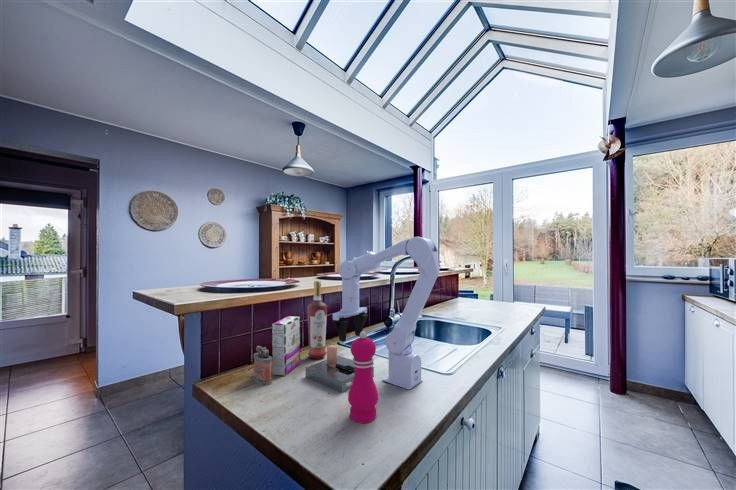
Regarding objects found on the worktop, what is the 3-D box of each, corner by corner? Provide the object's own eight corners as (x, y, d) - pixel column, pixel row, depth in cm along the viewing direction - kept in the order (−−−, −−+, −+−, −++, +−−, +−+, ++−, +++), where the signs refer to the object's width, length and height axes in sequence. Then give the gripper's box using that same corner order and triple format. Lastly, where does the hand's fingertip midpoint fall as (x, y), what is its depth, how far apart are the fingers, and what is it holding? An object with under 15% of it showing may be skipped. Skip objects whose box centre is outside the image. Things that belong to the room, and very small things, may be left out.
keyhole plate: (373, 376, 93) (373, 366, 93) (342, 392, 82) (342, 381, 82) (337, 364, 103) (337, 355, 103) (305, 377, 92) (305, 367, 93)
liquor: (310, 361, 105) (310, 282, 106) (304, 355, 112) (304, 281, 112) (329, 358, 109) (330, 281, 109) (322, 352, 115) (323, 280, 116)
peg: (341, 373, 95) (341, 346, 95) (331, 378, 92) (331, 350, 92) (332, 370, 98) (332, 343, 98) (322, 374, 95) (322, 347, 95)
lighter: (274, 383, 88) (274, 349, 89) (263, 386, 86) (263, 351, 86) (261, 375, 94) (261, 343, 94) (250, 378, 91) (251, 345, 92)
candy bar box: (287, 362, 105) (287, 315, 105) (300, 363, 104) (300, 316, 104) (270, 375, 94) (271, 323, 94) (285, 376, 93) (285, 323, 93)
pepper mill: (368, 428, 66) (368, 337, 66) (341, 418, 70) (342, 332, 70) (383, 413, 72) (383, 330, 72) (359, 405, 76) (359, 326, 76)
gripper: (356, 293, 107) (356, 331, 106) (326, 298, 96) (326, 341, 95) (371, 295, 102) (371, 335, 102) (341, 300, 91) (341, 345, 91)
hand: (350, 338), depth 98 cm, fingers open, 7 cm apart
